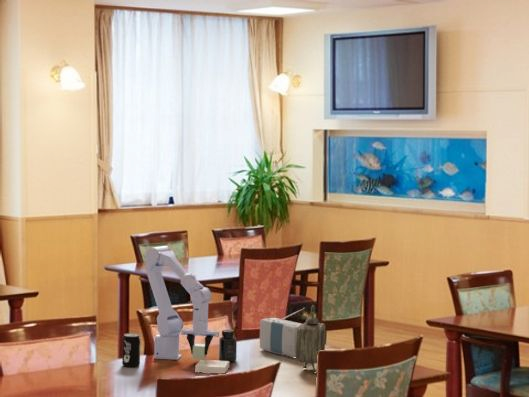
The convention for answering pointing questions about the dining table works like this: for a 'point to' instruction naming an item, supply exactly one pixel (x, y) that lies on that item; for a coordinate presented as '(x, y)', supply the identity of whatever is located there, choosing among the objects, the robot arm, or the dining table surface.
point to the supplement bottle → (227, 346)
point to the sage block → (199, 351)
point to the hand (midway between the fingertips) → (199, 354)
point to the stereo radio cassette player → (279, 335)
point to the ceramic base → (212, 366)
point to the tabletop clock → (310, 340)
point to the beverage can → (131, 350)
